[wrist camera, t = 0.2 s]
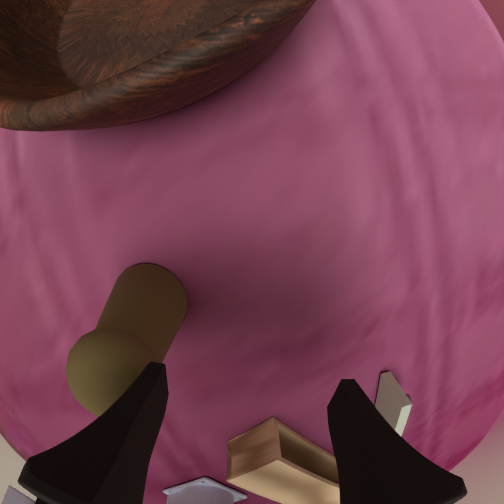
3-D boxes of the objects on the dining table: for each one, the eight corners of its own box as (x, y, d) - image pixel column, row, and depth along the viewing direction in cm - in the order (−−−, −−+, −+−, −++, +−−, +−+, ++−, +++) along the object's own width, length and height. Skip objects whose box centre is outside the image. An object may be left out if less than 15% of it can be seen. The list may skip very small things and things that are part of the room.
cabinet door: (359, 467, 27) (368, 494, 22) (380, 373, 23) (401, 407, 18) (374, 463, 27) (385, 489, 22) (400, 368, 23) (423, 399, 18)
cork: (186, 264, 20) (160, 354, 10) (189, 336, 22) (177, 445, 11) (109, 262, 20) (33, 338, 9) (118, 331, 21) (71, 429, 11)
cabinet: (320, 486, 29) (326, 516, 23) (228, 440, 25) (226, 481, 20) (357, 468, 28) (367, 498, 22) (273, 416, 24) (277, 459, 19)
